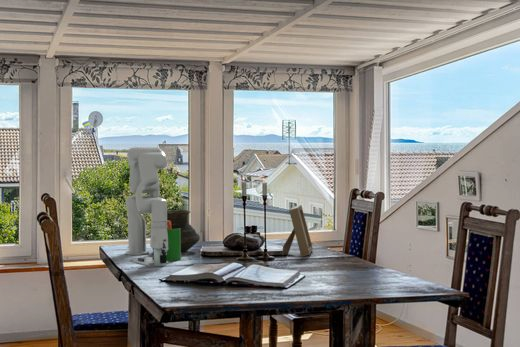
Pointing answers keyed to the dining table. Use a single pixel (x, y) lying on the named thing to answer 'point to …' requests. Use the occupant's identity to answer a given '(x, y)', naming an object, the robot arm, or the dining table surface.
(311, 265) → the dining table surface
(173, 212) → the ceramic pot
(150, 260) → the clip bracket
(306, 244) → the photo frame
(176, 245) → the motor
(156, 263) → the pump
